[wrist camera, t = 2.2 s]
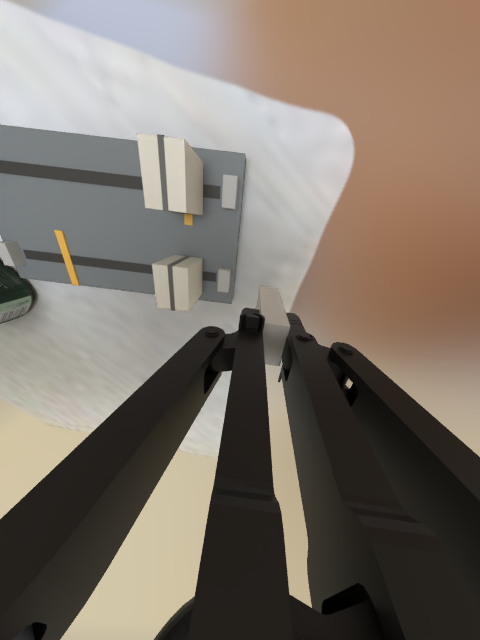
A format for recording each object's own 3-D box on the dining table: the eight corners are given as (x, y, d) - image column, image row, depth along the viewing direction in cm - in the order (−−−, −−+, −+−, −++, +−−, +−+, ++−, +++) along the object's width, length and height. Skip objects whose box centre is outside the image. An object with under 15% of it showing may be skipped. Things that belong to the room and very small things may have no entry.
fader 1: (172, 212, 18) (145, 208, 13) (169, 157, 16) (136, 131, 11) (202, 216, 18) (186, 213, 13) (203, 161, 16) (184, 137, 11)
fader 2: (176, 290, 22) (157, 308, 17) (174, 254, 20) (151, 263, 15) (202, 294, 22) (188, 312, 17) (202, 257, 20) (187, 267, 15)
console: (37, 273, 24) (8, 280, 21) (-23, 129, 18) (-75, 111, 15) (233, 297, 24) (230, 307, 21) (245, 160, 18) (244, 148, 15)
